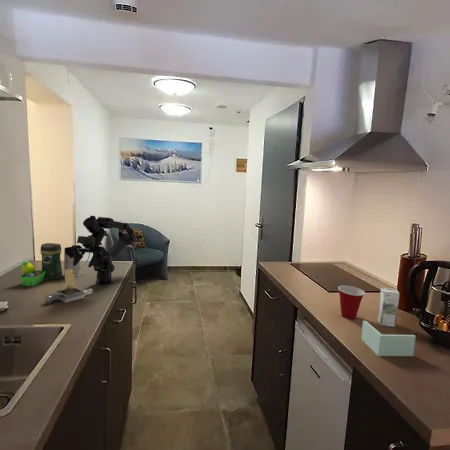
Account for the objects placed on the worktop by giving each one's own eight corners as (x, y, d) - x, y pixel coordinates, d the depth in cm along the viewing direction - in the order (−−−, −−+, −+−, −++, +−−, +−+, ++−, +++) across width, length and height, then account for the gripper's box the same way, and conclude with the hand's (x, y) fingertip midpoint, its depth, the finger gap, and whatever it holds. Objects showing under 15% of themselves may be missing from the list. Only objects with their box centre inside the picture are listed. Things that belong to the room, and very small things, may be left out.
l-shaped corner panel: (413, 357, 113) (415, 336, 112) (377, 357, 112) (380, 335, 111) (392, 340, 125) (395, 321, 124) (361, 340, 124) (363, 320, 123)
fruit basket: (34, 287, 166) (34, 264, 164) (16, 286, 166) (15, 263, 164) (46, 280, 177) (46, 259, 176) (29, 279, 177) (28, 258, 176)
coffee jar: (64, 276, 185) (64, 242, 183) (55, 280, 177) (55, 245, 175) (48, 275, 186) (47, 241, 184) (38, 279, 178) (37, 244, 176)
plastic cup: (359, 324, 137) (362, 295, 136) (332, 317, 143) (335, 289, 141) (365, 315, 146) (367, 288, 145) (339, 309, 152) (341, 283, 150)
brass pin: (69, 296, 156) (68, 268, 154) (77, 297, 155) (76, 268, 153) (63, 298, 152) (62, 270, 150) (71, 299, 151) (70, 271, 149)
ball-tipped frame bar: (87, 290, 164) (87, 284, 164) (97, 294, 159) (97, 288, 158) (41, 301, 148) (40, 294, 147) (50, 306, 142) (49, 299, 142)
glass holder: (61, 274, 189) (60, 247, 187) (86, 270, 199) (86, 244, 197) (67, 277, 183) (66, 250, 181) (93, 273, 193) (93, 247, 191)
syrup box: (392, 322, 140) (395, 288, 138) (395, 328, 135) (399, 292, 133) (377, 320, 142) (380, 286, 140) (380, 326, 136) (384, 290, 134)
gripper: (71, 228, 165) (54, 256, 157) (102, 229, 158) (86, 258, 150) (85, 241, 174) (70, 268, 165) (114, 242, 167) (100, 271, 158)
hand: (81, 266), depth 159 cm, fingers open, 9 cm apart
